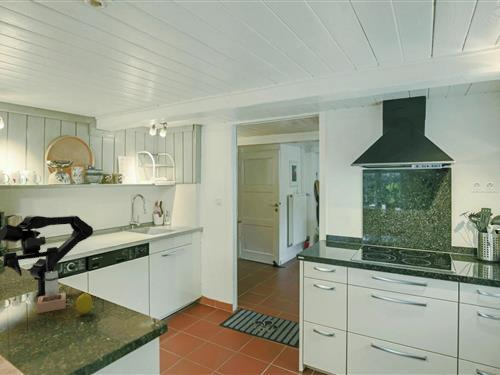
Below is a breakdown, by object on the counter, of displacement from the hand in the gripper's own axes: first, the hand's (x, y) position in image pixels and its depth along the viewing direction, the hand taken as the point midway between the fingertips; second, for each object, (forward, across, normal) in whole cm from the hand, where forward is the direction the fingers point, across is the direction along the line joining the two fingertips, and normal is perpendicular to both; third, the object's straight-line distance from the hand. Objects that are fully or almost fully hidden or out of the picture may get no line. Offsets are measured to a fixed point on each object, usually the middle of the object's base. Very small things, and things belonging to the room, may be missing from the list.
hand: (34, 273), depth 124 cm
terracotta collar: (+13, +5, +6) cm, 15 cm away
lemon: (+26, +12, -7) cm, 29 cm away
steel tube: (+13, +5, +6) cm, 15 cm away
